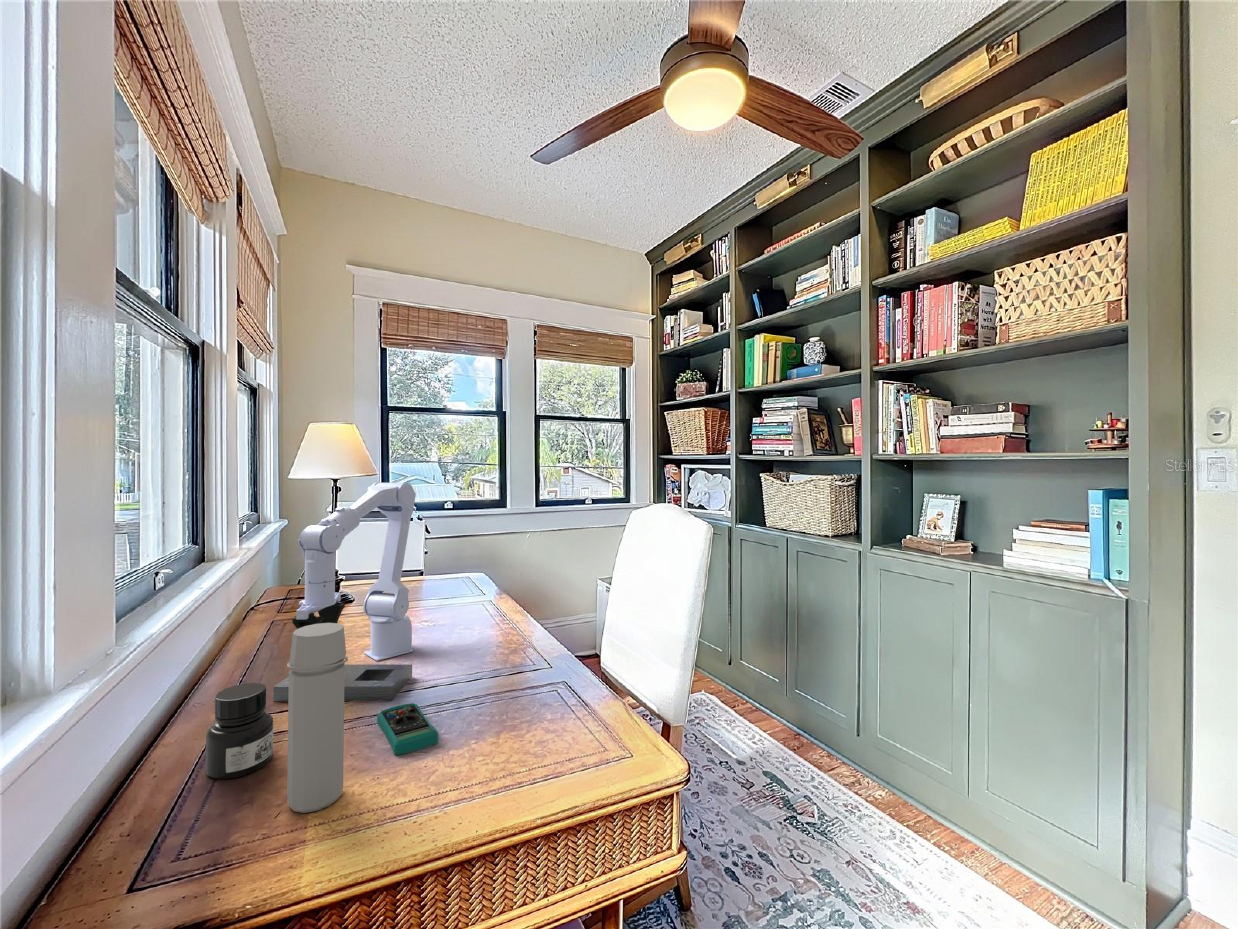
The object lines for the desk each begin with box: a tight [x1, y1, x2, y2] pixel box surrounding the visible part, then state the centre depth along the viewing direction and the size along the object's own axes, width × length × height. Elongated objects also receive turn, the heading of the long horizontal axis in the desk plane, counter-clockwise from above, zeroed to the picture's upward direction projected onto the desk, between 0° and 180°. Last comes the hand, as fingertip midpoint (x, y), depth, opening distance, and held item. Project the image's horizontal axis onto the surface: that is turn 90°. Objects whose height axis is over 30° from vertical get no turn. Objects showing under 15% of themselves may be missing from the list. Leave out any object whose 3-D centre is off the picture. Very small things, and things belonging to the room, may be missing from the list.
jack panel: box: [273, 663, 413, 702], centre depth 116 cm, size 24×12×3 cm, turn 92°
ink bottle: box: [205, 682, 274, 780], centre depth 87 cm, size 10×9×12 cm
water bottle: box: [286, 623, 349, 814], centre depth 79 cm, size 9×8×25 cm
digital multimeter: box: [376, 702, 439, 756], centre depth 98 cm, size 7×15×3 cm, turn 36°
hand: (319, 643), depth 116 cm, fingers open, 7 cm apart
